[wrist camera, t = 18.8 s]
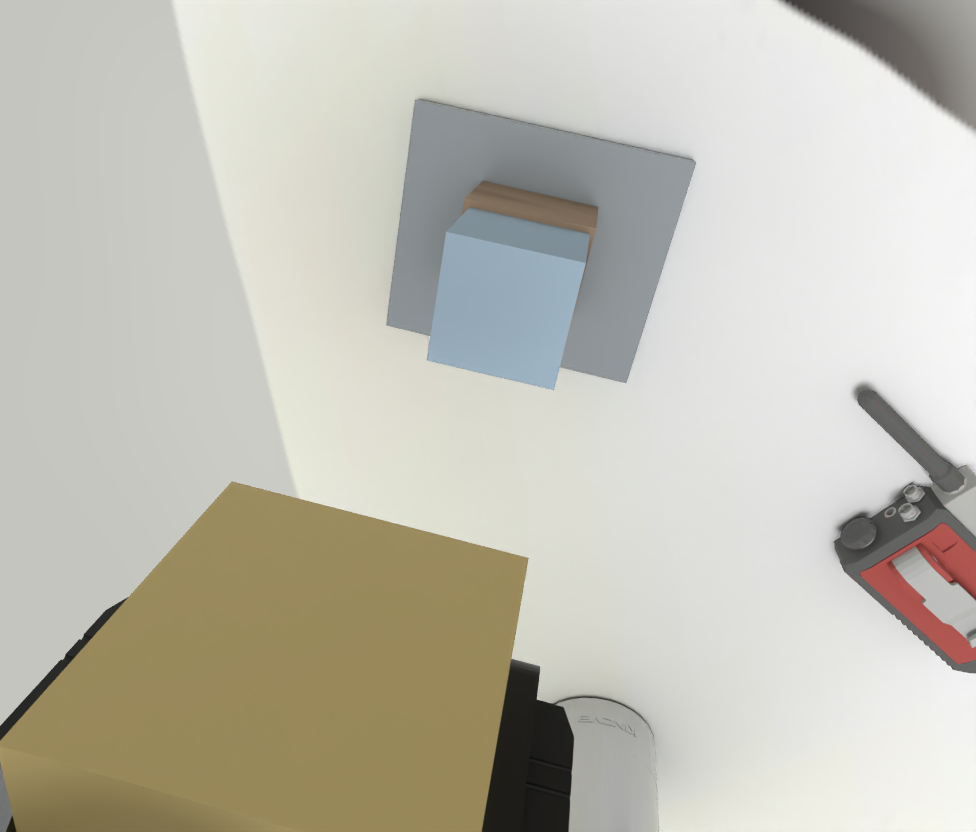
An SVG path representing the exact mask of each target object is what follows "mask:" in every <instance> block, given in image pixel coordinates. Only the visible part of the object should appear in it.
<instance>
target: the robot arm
mask: <svg viewBox="0 0 976 832" xmlns="http://www.w3.org/2000/svg"><path fill="white" fill-rule="evenodd" d="M126 600H127V598H126V599H124V600H122V601H121V602H119V603H117V604H116V605H114V606H112V607H111V608H109V609H107V610H106V611H105V612H104V613H103V614H102V615H101V616H100V617H99V618H98V619H97V621H96V622H95V623H94V624H93V625H92V626H91V627H90V628H89V629H88V630H87V632H86V633H85V634H84V636H83V638H82V640H78V642H77V643H76V644H75V645H74V646H73V647H72V648H71V649H70V650H69V651H68V652H67V653H66V655H65V658H64V659H63V660H60V661H59V662H58V663H57V664H56V665H55V667H54V668H53V669H52V670H51V671H50V672H49V673H48V674H47V676H45V678H44V679H43V680H42V681H41V682H40V683H39V684H38V685H37V686H36V687H35V689H34V690H33V691H32V692H31V693H30V694H29V695H28V696H27V697H26V698H25V700H24V701H23V702H22V703H21V704H20V705H19V706H18V707H17V708H16V709H15V710H14V712H13V713H12V714H11V715H10V716H9V717H8V718H7V719H6V720H5V721H4V723H3V724H2V725H1V726H0V741H1V739H2V738H3V737H4V736H5V735H6V734H7V733H8V732H9V730H10V729H11V728H12V727H13V726H14V725H15V724H16V723H17V722H18V720H19V719H20V718H21V717H22V716H23V715H24V714H25V713H26V711H27V710H28V709H29V708H30V707H31V706H32V705H33V704H34V703H35V701H36V700H37V699H38V698H39V697H40V696H41V695H42V694H43V692H44V691H45V690H46V689H47V688H48V687H49V686H50V685H51V683H52V682H53V681H54V680H55V679H56V678H57V677H58V676H59V675H60V673H61V672H62V671H63V670H64V669H65V668H66V667H67V666H68V664H69V663H70V662H71V661H72V660H73V659H74V658H75V657H76V656H77V654H78V653H79V652H80V651H81V650H82V649H83V648H84V647H85V645H86V644H87V643H88V642H89V641H90V640H91V639H92V638H93V636H94V635H95V634H96V633H97V632H98V631H99V630H100V629H101V628H102V626H103V625H104V624H105V623H106V622H107V621H108V620H109V619H110V617H111V616H112V615H113V614H114V613H115V612H116V611H117V610H118V608H119V607H120V606H121V605H122V604H123V603H124V602H125V601H126ZM539 674H540V666H537V665H533V664H529V663H525V662H521V661H518V660H514V659H511V663H510V669H509V674H508V680H507V686H506V692H505V698H504V704H503V709H502V715H501V721H500V727H499V733H498V739H497V744H496V750H495V756H494V762H493V768H492V773H491V779H490V785H489V791H488V797H487V803H486V808H485V814H484V820H483V826H482V832H659V814H658V797H657V777H656V760H655V744H654V738H653V734H652V732H651V730H650V728H649V726H648V725H647V724H646V722H645V721H644V720H643V719H642V718H641V717H640V716H639V715H637V714H636V713H635V712H633V711H632V710H630V709H628V708H626V707H624V706H623V705H620V704H617V703H614V702H612V701H608V700H603V699H597V698H577V699H570V700H566V701H563V702H559V703H557V704H555V705H554V704H551V703H547V702H543V701H539V700H536V699H537V691H538V683H539ZM0 832H16V828H15V823H14V819H13V815H12V810H11V806H10V802H9V797H8V793H7V789H6V784H5V780H4V776H3V771H2V767H1V763H0Z"/></svg>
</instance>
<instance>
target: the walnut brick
mask: <svg viewBox="0 0 976 832" xmlns="http://www.w3.org/2000/svg"><path fill="white" fill-rule="evenodd" d="M469 207H471V208H476V209H480V210H485V211H489V212H494V213H498V214H503V215H507V216H512V217H517V218H521V219H526V220H530V221H535V222H539V223H544V224H548V225H553V226H557V227H562V228H566V229H571V230H575V231H580V232H584V233H589V234H590V236H589V244H588V251H587V259H586V265H587V261H588V257H589V254H590V250H591V246H592V242H593V238H594V235H595V231H596V225H597V215H598V207H597V206H592V205H588V204H584V203H579V202H575V201H570V200H566V199H562V198H557V197H553V196H549V195H544V194H540V193H535V192H531V191H527V190H522V189H518V188H514V187H509V186H505V185H500V184H496V183H492V182H487V181H482V182H481V183H480V184H479V185H478V186H477V187H476V188H475V189H474V190H473V191H472V192H470V193H469V194H468V195H467V196H466V197H465V199H464V205H463V210H462V215H463V214H464V212H465V211H466V210H467V209H468V208H469ZM586 265H585V269H586ZM585 269H584V273H585ZM584 273H583V276H584ZM582 280H583V277H582ZM581 284H582V281H581ZM581 284H580V288H581ZM580 288H579V292H580ZM579 292H578V295H579ZM577 299H578V296H577ZM576 303H577V300H576ZM575 307H576V304H575ZM574 311H575V308H574ZM573 314H574V312H573ZM572 318H573V316H572ZM571 322H572V320H571ZM570 326H571V324H570ZM569 330H570V328H569ZM568 333H569V332H568ZM567 337H568V336H567ZM566 341H567V340H566ZM565 345H566V344H565ZM564 349H565V348H564Z"/></svg>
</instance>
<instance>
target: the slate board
mask: <svg viewBox="0 0 976 832" xmlns="http://www.w3.org/2000/svg"><path fill="white" fill-rule="evenodd" d="M695 165H696V162H695V161H694V160H691V159H686V158H682V157H677V156H673V155H668V154H664V153H659V152H655V151H650V150H646V149H641V148H637V147H633V146H628V145H624V144H619V143H615V142H610V141H606V140H601V139H597V138H592V137H588V136H583V135H579V134H574V133H570V132H565V131H561V130H556V129H552V128H547V127H543V126H538V125H534V124H530V123H525V122H521V121H516V120H512V119H507V118H503V117H498V116H494V115H489V114H485V113H480V112H476V111H471V110H467V109H462V108H458V107H453V106H449V105H444V104H440V103H436V102H431V101H427V100H422V99H418V100H415V105H414V113H413V121H412V129H411V136H410V144H409V152H408V160H407V168H406V176H405V183H404V191H403V199H402V207H401V215H400V223H399V230H398V238H397V246H396V254H395V262H394V270H393V277H392V285H391V293H390V301H389V309H388V316H387V324H386V325H387V326H391V327H395V328H400V329H404V330H408V331H412V332H416V333H420V334H424V335H429V336H430V335H431V329H432V322H433V316H434V309H435V302H436V296H437V289H438V283H439V276H440V269H441V263H442V256H443V250H444V243H445V236H446V232H447V230H448V229H449V228H450V227H451V226H452V225H453V224H454V223H455V222H456V221H457V220H458V219H459V218H460V217H461V216H462V210H463V205H464V199H465V197H466V196H467V195H468V194H469V193H470V192H472V191H473V190H474V189H475V188H476V187H477V186H478V185H479V184H480V183H481V182H482V181H487V182H492V183H496V184H500V185H505V186H509V187H514V188H518V189H522V190H527V191H531V192H535V193H540V194H544V195H549V196H553V197H557V198H562V199H566V200H570V201H575V202H579V203H584V204H588V205H592V206H597V207H598V215H597V225H596V231H595V235H594V238H593V242H592V246H591V250H590V254H589V257H588V261H587V265H586V269H585V273H584V276H583V280H582V284H581V288H580V292H579V295H578V299H577V303H576V307H575V311H574V314H573V318H572V322H571V326H570V330H569V333H568V337H567V341H566V345H565V349H564V352H563V356H562V360H561V364H560V367H561V368H566V369H570V370H574V371H578V372H582V373H586V374H590V375H595V376H599V377H603V378H607V379H611V380H615V381H619V382H624V383H626V382H627V379H628V376H629V373H630V369H631V366H632V363H633V360H634V357H635V354H636V350H637V347H638V344H639V341H640V338H641V335H642V332H643V328H644V325H645V322H646V319H647V316H648V313H649V309H650V306H651V303H652V300H653V297H654V294H655V291H656V287H657V284H658V281H659V278H660V275H661V272H662V269H663V265H664V262H665V259H666V256H667V253H668V250H669V246H670V243H671V240H672V237H673V234H674V231H675V228H676V224H677V221H678V218H679V215H680V212H681V209H682V206H683V202H684V199H685V196H686V193H687V190H688V187H689V183H690V180H691V177H692V174H693V171H694V168H695Z"/></svg>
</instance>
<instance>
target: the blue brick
mask: <svg viewBox="0 0 976 832" xmlns="http://www.w3.org/2000/svg"><path fill="white" fill-rule="evenodd" d="M589 236H590V234H589V233H584V232H580V231H575V230H571V229H566V228H562V227H557V226H553V225H548V224H544V223H539V222H535V221H530V220H526V219H521V218H517V217H512V216H507V215H503V214H498V213H494V212H489V211H485V210H480V209H476V208H471V207H469V208H468V209H467V210H466V211H465V212H464V214H463V215H462V216H461V217H460V218H459V219H458V220H457V221H456V222H455V223H454V224H453V225H452V226H451V227H450V228H449V229H448V230H447V232H446V236H445V243H444V250H443V256H442V263H441V269H440V276H439V283H438V289H437V296H436V302H435V309H434V316H433V322H432V329H431V335H430V342H429V349H428V355H427V360H428V361H432V362H436V363H441V364H445V365H449V366H453V367H458V368H462V369H466V370H471V371H475V372H479V373H483V374H488V375H492V376H496V377H500V378H505V379H509V380H513V381H518V382H522V383H526V384H530V385H535V386H539V387H543V388H547V389H552V390H554V387H555V383H556V380H557V376H558V372H559V368H560V364H561V360H562V356H563V352H564V348H565V344H566V340H567V336H568V332H569V328H570V324H571V320H572V316H573V312H574V308H575V304H576V300H577V296H578V292H579V288H580V284H581V281H582V277H583V273H584V269H585V265H586V259H587V251H588V244H589Z"/></svg>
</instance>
